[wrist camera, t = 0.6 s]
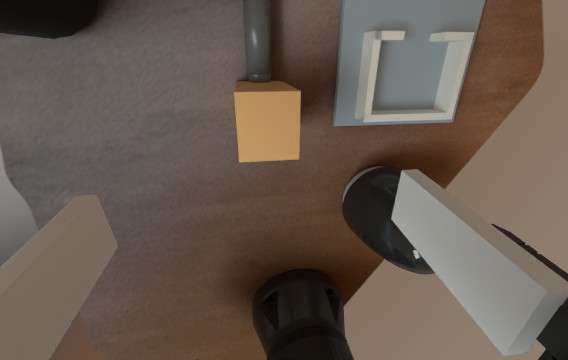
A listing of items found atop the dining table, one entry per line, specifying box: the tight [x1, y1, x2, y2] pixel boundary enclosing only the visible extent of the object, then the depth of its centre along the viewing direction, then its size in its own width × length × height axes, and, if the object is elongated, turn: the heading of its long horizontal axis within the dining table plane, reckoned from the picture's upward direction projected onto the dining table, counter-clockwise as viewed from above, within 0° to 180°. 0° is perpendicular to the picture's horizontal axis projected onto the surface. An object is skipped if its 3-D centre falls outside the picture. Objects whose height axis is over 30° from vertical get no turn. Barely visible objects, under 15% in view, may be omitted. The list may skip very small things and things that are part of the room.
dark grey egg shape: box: [342, 166, 435, 274], centre depth 31 cm, size 10×10×15 cm
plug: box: [234, 0, 301, 162], centre depth 24 cm, size 16×5×11 cm, turn 0°
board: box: [333, 0, 485, 126], centre depth 29 cm, size 19×16×3 cm
